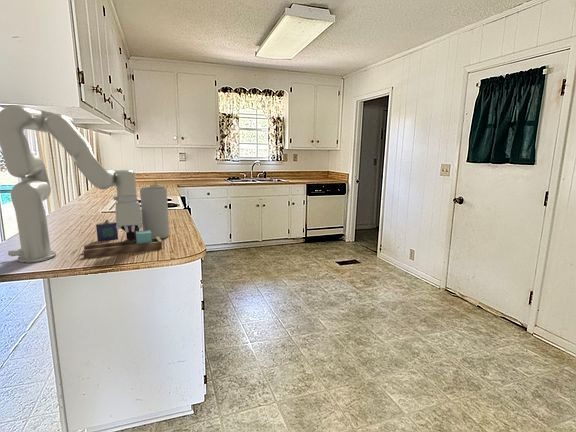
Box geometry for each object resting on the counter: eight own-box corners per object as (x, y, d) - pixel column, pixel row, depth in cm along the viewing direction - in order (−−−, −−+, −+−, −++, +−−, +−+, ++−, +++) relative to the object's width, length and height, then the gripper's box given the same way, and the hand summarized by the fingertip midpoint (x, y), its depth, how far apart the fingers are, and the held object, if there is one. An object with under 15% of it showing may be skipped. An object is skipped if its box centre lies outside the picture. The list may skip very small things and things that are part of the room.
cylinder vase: (167, 239, 169) (164, 189, 164) (141, 240, 166) (137, 190, 161) (170, 233, 181) (168, 186, 176) (145, 233, 178) (142, 186, 173)
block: (137, 249, 147) (136, 234, 146) (136, 246, 152) (135, 231, 150) (152, 247, 150) (151, 232, 149) (150, 244, 154) (149, 230, 153)
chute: (84, 260, 136) (82, 250, 135) (85, 253, 145) (84, 243, 144) (162, 251, 150) (161, 241, 149) (159, 245, 159) (158, 236, 158)
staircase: (160, 216, 223) (157, 178, 217) (166, 220, 214) (164, 180, 209) (148, 218, 218) (145, 179, 213) (154, 221, 209) (151, 180, 204)
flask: (117, 238, 168) (115, 217, 166) (119, 239, 166) (117, 218, 164) (97, 242, 162) (94, 220, 160) (99, 243, 160) (96, 221, 158)
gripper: (107, 201, 137) (111, 244, 141) (147, 199, 144) (149, 240, 148) (107, 198, 144) (111, 240, 147) (145, 196, 150) (148, 236, 154)
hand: (130, 240), depth 147 cm, fingers closed
